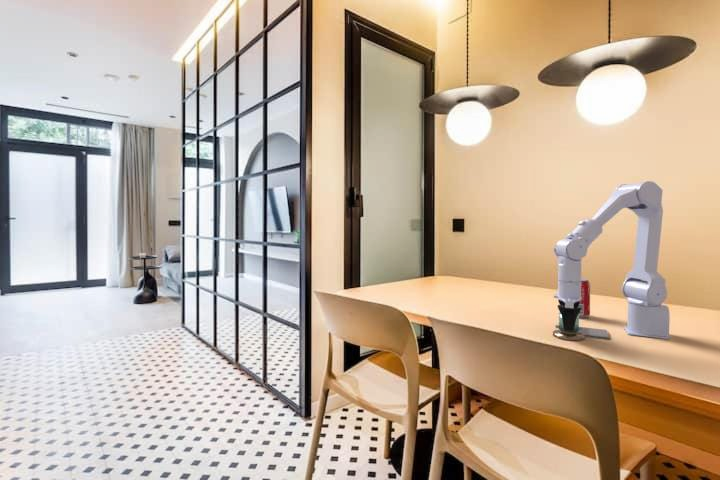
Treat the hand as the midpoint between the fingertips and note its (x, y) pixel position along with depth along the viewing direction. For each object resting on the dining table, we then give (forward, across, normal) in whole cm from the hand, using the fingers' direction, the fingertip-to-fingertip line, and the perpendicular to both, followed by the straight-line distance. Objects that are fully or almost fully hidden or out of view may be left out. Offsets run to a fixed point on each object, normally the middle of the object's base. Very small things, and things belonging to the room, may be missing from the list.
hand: (568, 327), depth 105 cm
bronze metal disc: (+3, 0, 0) cm, 3 cm away
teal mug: (+1, 0, 0) cm, 1 cm away
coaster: (+3, -6, +6) cm, 9 cm away
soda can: (+3, -27, +3) cm, 27 cm away
